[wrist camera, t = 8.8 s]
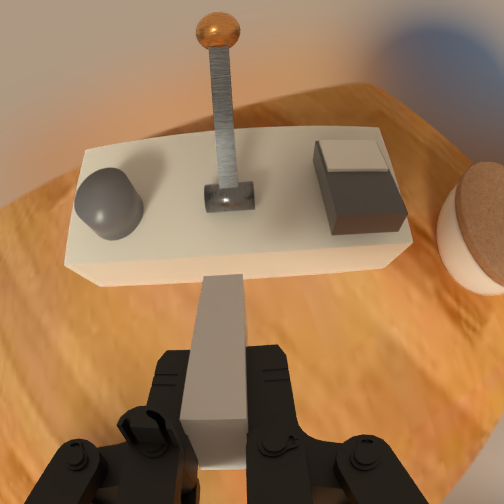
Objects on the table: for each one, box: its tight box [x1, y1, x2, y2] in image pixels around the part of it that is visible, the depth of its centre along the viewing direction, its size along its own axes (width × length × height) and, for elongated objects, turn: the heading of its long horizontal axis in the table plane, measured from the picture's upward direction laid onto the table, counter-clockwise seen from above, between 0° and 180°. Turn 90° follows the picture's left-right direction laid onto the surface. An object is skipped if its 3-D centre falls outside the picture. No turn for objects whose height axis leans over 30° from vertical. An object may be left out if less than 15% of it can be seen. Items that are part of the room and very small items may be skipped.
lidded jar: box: [436, 161, 504, 296], centre depth 21 cm, size 11×11×9 cm
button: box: [74, 167, 143, 241], centre depth 20 cm, size 4×4×3 cm
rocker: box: [313, 140, 408, 235], centre depth 19 cm, size 4×6×2 cm
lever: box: [196, 12, 255, 213], centre depth 18 cm, size 3×3×13 cm
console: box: [64, 126, 413, 287], centre depth 24 cm, size 24×10×6 cm, turn 94°
